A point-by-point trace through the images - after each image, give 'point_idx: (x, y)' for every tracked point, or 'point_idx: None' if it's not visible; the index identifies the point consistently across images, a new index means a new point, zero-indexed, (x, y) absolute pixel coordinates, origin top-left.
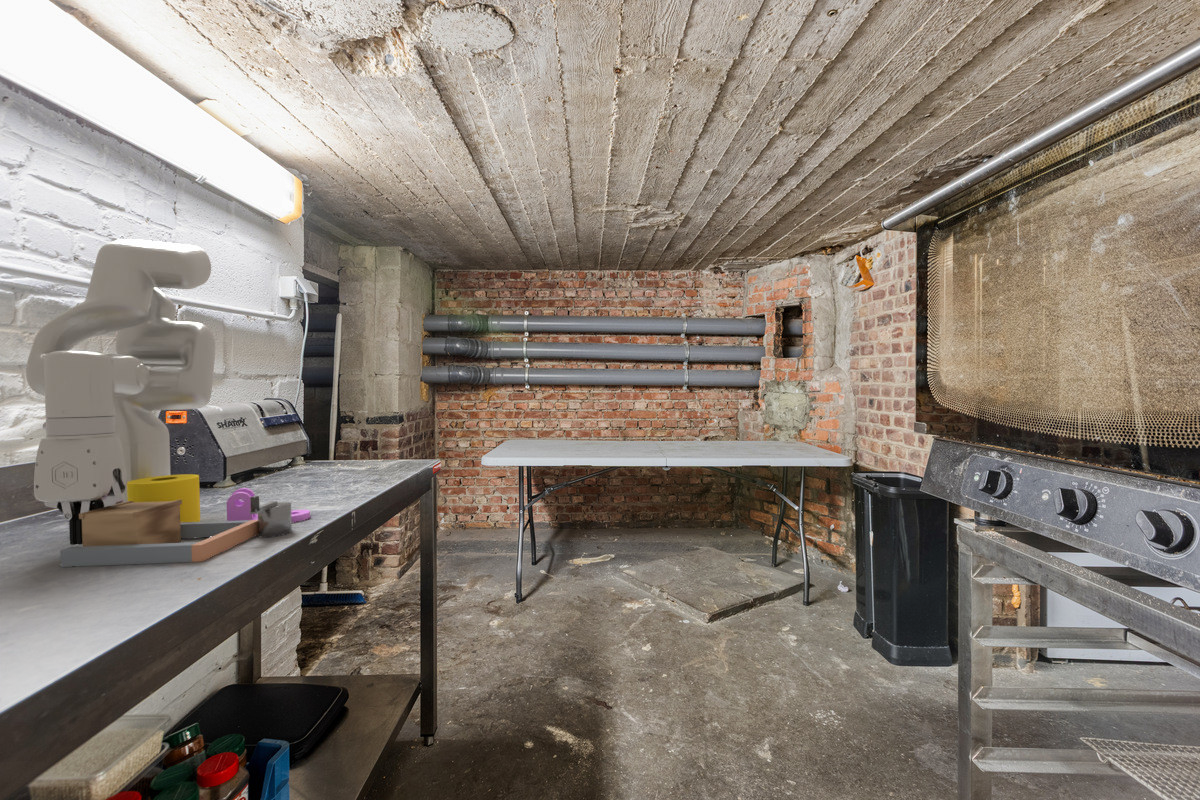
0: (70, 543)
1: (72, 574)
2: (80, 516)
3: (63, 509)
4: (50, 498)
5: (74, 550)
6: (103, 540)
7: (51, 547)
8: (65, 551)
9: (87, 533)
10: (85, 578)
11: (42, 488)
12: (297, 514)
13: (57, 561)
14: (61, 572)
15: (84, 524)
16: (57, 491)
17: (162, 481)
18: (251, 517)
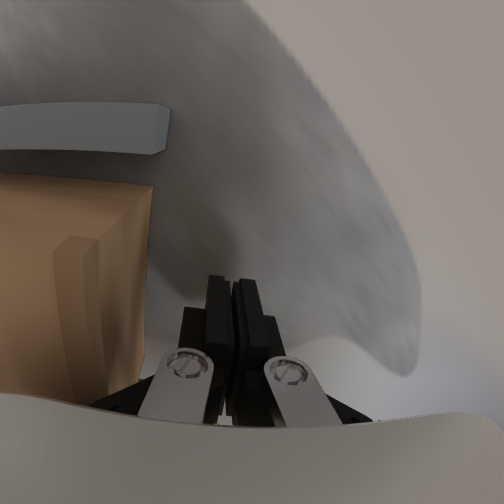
0: (253, 280)
1: (74, 29)
2: (82, 247)
3: (323, 402)
4: (406, 430)
5: (99, 102)
6: (43, 193)
7: (375, 359)
8: (137, 104)
9: (96, 213)
10: (22, 3)
11: (493, 486)
12: None
13: (246, 194)
14: (124, 50)
15: (88, 230)
16: (373, 499)
17: None
18: None
